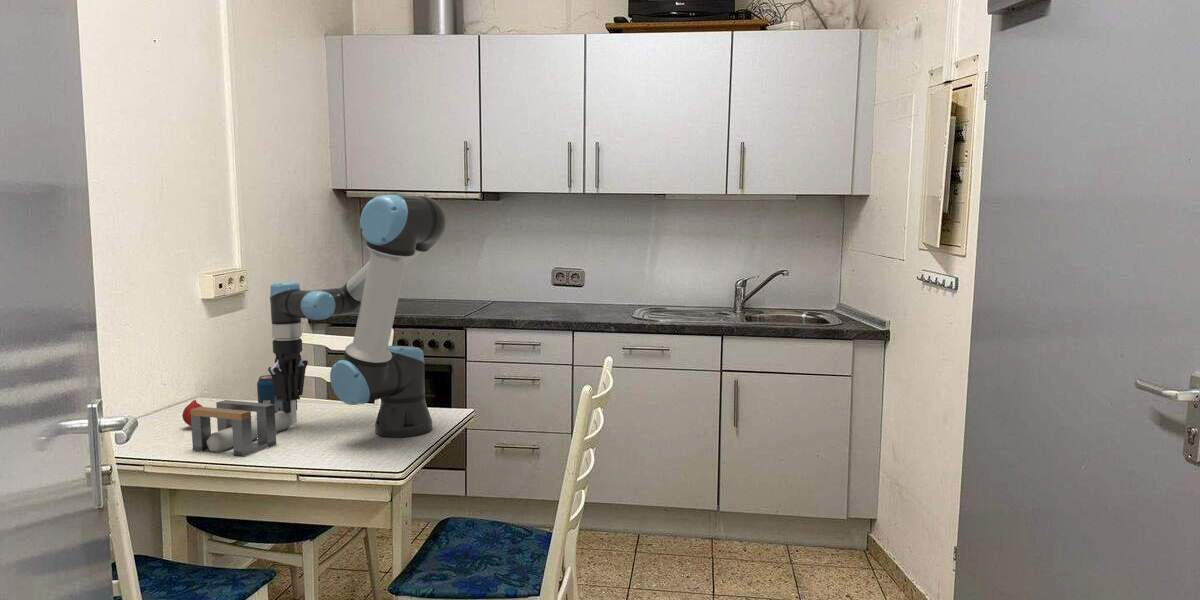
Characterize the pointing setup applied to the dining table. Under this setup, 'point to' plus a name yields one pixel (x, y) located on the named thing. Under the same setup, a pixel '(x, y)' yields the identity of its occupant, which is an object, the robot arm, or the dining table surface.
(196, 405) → the onion
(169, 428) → the dining table surface
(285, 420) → the tube
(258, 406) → the gray frame
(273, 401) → the soda can
